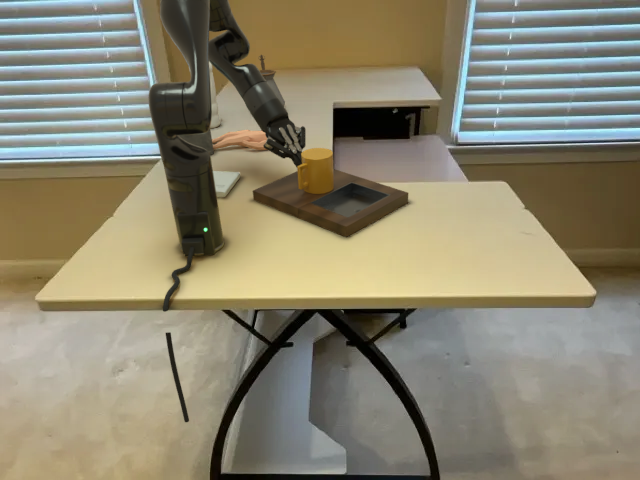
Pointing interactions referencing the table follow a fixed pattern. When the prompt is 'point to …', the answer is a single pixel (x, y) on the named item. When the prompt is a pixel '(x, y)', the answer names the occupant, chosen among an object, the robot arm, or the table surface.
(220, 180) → the hard drive
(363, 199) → the sink
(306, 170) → the mug
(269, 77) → the coffee pot
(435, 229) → the table surface
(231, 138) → the male figurine
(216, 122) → the water bottle
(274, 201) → the counter
